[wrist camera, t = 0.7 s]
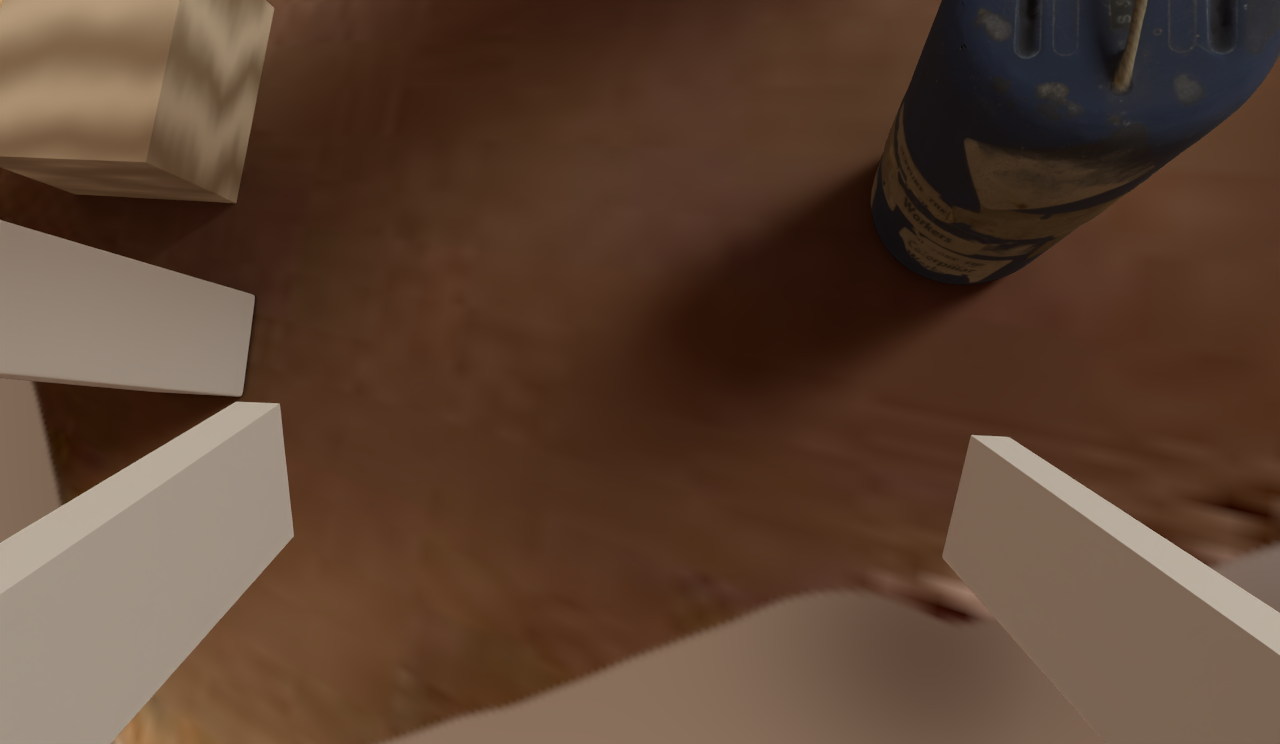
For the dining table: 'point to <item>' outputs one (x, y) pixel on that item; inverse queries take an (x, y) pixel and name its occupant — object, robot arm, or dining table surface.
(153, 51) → the block
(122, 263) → the milk carton
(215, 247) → the dining table surface
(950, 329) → the dining table surface
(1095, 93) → the canister
